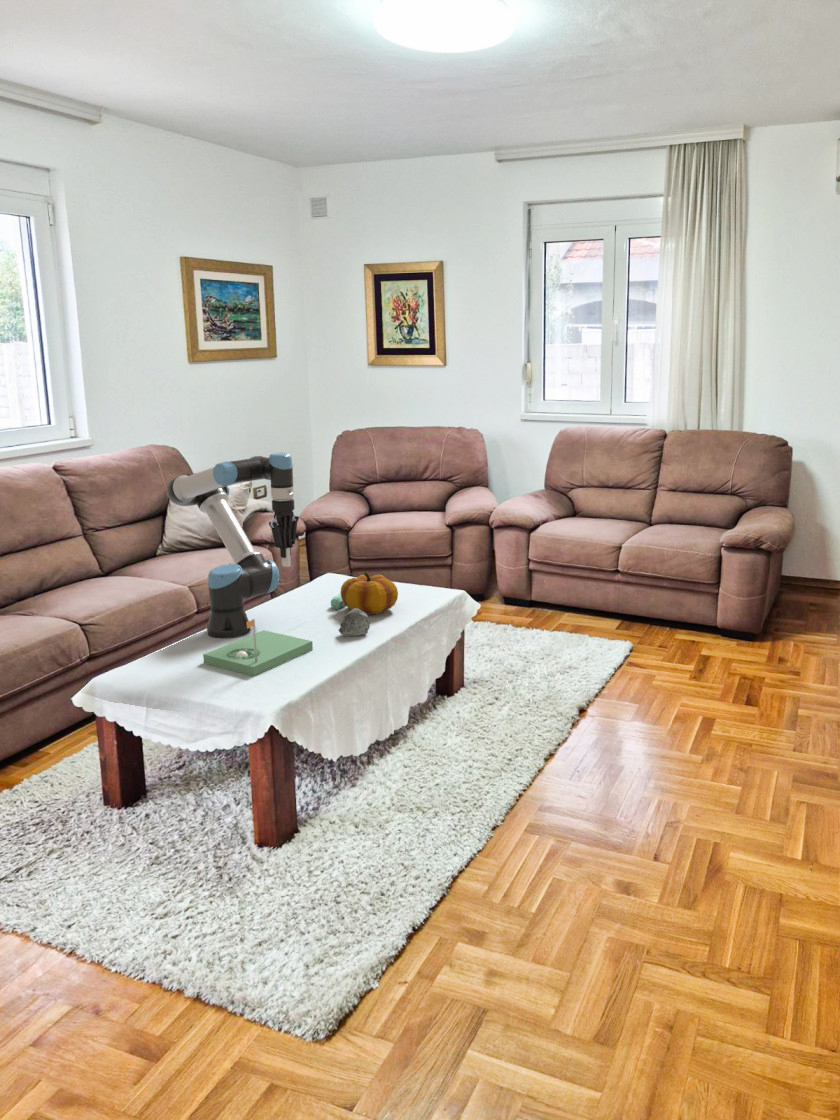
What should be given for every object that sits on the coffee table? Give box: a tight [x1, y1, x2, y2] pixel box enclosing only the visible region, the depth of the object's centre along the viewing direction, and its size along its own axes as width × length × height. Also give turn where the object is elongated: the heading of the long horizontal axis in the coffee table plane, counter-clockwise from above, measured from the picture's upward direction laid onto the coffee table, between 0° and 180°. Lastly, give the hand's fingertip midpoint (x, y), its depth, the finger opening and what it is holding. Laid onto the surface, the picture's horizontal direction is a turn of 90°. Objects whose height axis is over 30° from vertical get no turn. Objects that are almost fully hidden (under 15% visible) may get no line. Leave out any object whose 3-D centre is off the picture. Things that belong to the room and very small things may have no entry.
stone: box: [338, 608, 370, 637], centre depth 320 cm, size 10×10×10 cm
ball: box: [236, 651, 248, 657], centre depth 294 cm, size 4×4×4 cm
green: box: [202, 618, 314, 677], centre depth 298 cm, size 28×22×17 cm
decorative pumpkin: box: [339, 571, 399, 615], centre depth 345 cm, size 20×22×15 cm
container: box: [330, 592, 346, 610], centre depth 359 cm, size 6×6×25 cm
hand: (286, 566), depth 316 cm, fingers closed
